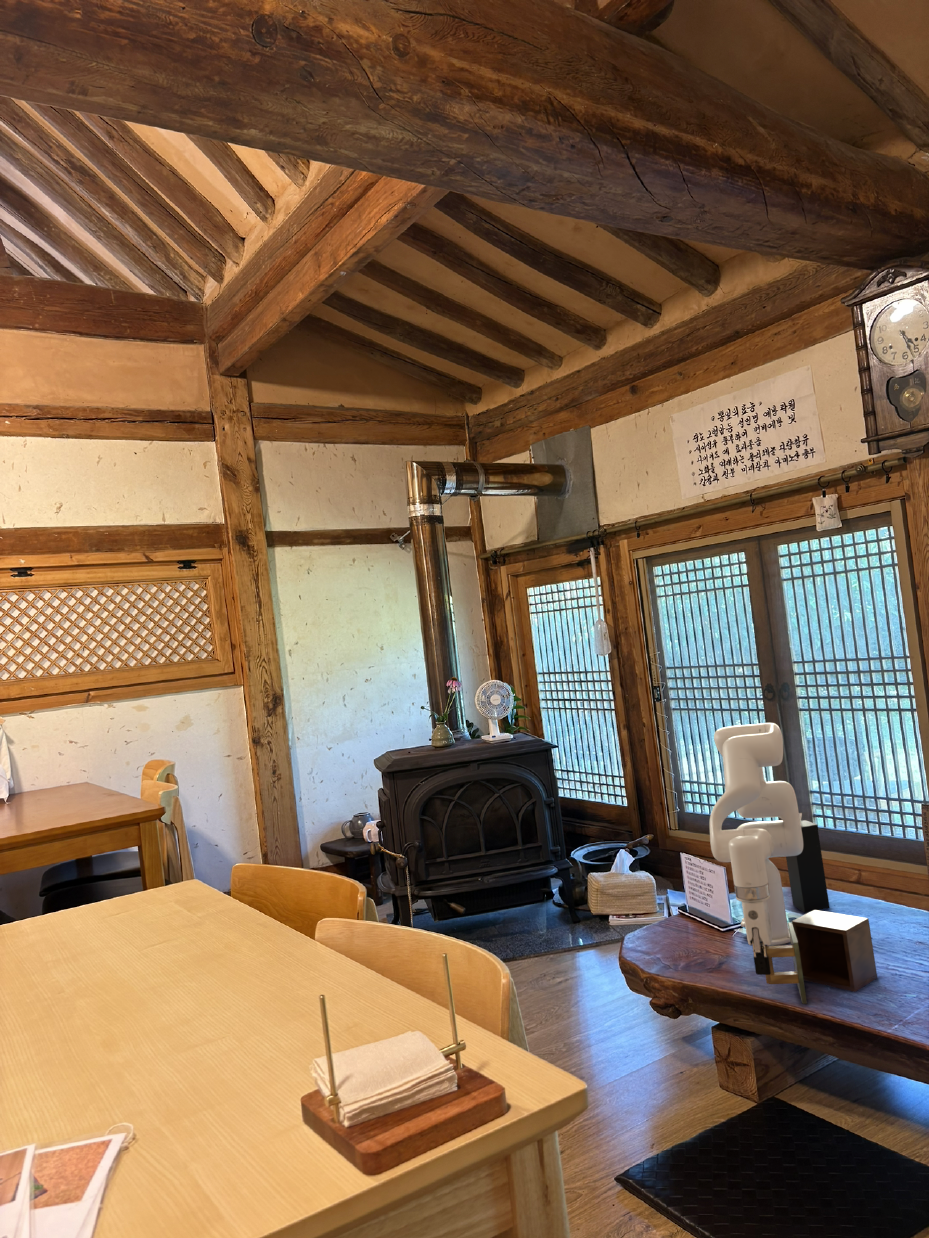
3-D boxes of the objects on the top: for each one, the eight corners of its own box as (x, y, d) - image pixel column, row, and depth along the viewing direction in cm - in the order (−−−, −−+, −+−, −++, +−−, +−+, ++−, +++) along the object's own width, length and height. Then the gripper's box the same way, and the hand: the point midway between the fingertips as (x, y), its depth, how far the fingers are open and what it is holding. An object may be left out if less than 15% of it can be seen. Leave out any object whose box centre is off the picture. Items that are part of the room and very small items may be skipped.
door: (769, 1004, 203) (761, 944, 204) (765, 981, 217) (757, 924, 217) (807, 1003, 201) (798, 942, 202) (800, 980, 214) (792, 922, 215)
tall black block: (792, 905, 270) (779, 813, 271) (817, 901, 271) (803, 809, 272) (804, 913, 262) (790, 817, 263) (830, 908, 263) (816, 813, 264)
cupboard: (855, 992, 204) (846, 930, 205) (800, 979, 215) (791, 921, 216) (877, 978, 210) (868, 918, 211) (822, 966, 221) (814, 909, 222)
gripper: (767, 901, 197) (779, 985, 197) (771, 881, 212) (782, 959, 211) (732, 902, 200) (744, 985, 199) (738, 882, 215) (749, 959, 214)
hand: (763, 971), depth 205 cm, fingers closed on door, 2 cm apart
